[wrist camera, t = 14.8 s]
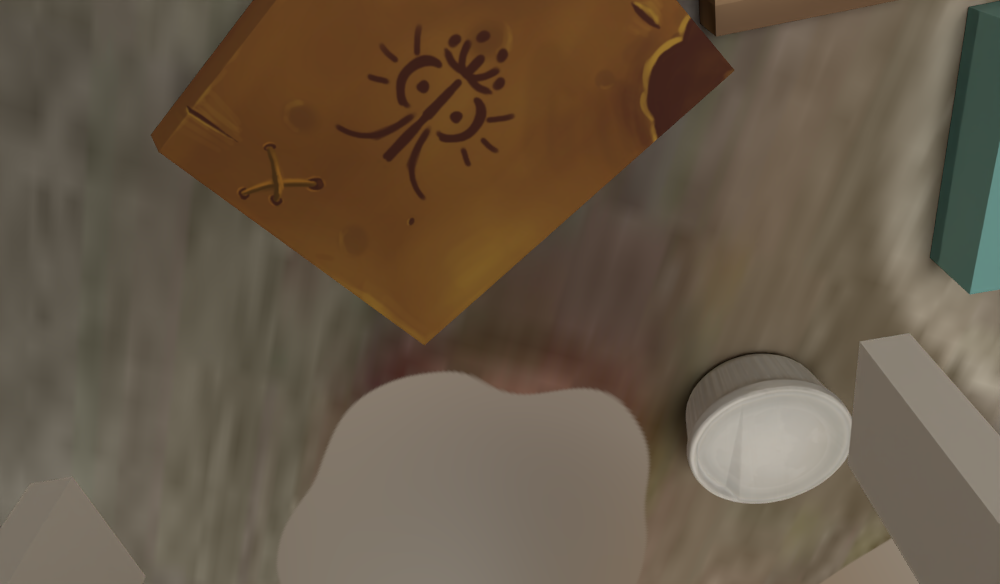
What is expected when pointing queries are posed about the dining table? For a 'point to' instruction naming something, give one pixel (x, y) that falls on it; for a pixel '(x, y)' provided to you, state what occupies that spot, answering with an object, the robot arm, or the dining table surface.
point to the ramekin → (764, 430)
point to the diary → (431, 130)
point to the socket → (768, 12)
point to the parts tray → (973, 162)
